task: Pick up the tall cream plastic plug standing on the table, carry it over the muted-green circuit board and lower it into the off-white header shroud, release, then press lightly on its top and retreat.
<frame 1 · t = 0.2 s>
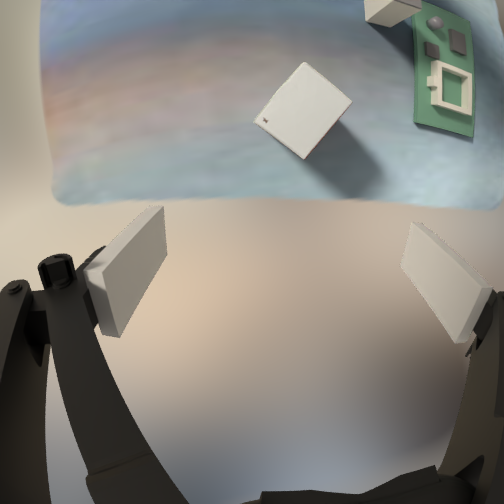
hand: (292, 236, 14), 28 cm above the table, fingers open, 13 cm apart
board: (444, 66, 30), on the table
small box: (290, 112, 36), on the table
plug: (377, 13, 28), on the table
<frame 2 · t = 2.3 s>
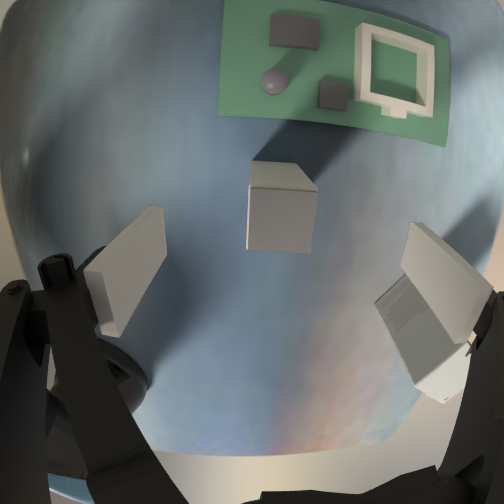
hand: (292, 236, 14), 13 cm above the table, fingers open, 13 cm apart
board: (346, 64, 21), on the table
small box: (407, 301, 32), on the table
plug: (272, 183, 26), on the table
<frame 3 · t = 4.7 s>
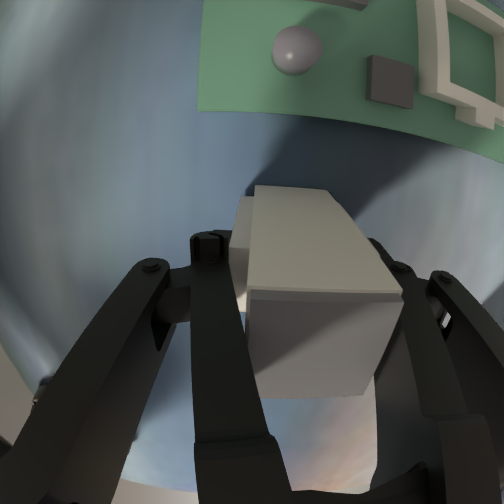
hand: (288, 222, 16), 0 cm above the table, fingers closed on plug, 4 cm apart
board: (402, 37, 11), on the table
plug: (288, 221, 17), on the table, touching gripper
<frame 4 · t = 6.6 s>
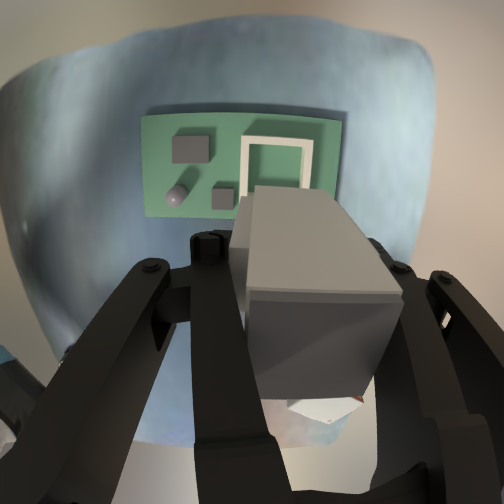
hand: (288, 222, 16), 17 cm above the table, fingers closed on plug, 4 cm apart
board: (238, 165, 32), on the table
small box: (313, 337, 43), on the table
plug: (288, 221, 17), point 17 cm above the table, touching gripper
when the fingers open (4 cm above the table, at t = 8.9 s): plug drops 3 cm, resting on board.
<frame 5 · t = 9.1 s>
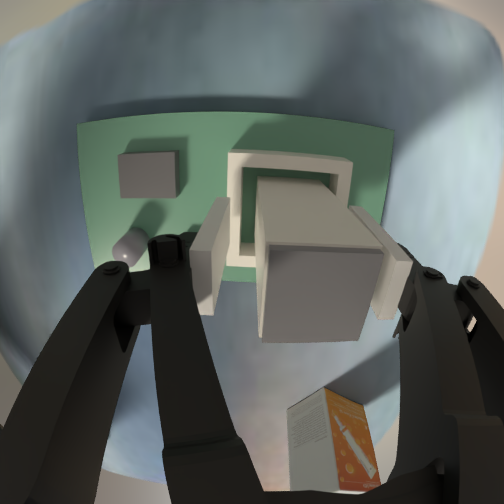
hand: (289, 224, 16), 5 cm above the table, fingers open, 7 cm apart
board: (226, 197, 20), on the table
small box: (325, 406, 31), on the table
plug: (286, 207, 19), point 1 cm above the table, touching board
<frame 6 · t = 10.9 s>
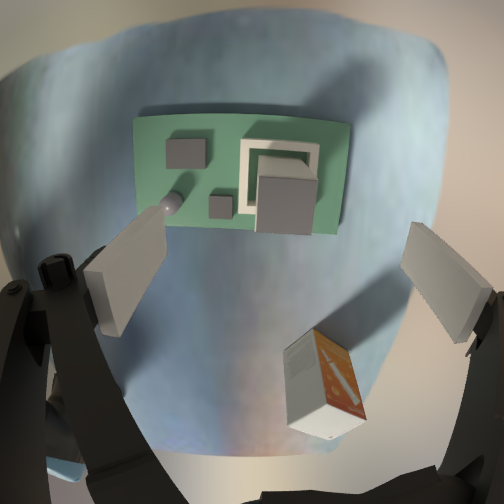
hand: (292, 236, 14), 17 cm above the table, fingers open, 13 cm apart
board: (237, 170, 29), on the table
small box: (315, 350, 41), on the table
plug: (277, 175, 28), point 1 cm above the table, touching board
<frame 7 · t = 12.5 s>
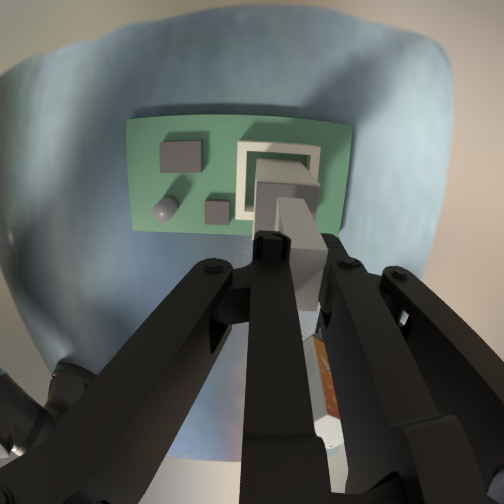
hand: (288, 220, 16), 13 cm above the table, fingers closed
board: (234, 174, 28), on the table
small box: (315, 357, 39), on the table
plug: (276, 179, 27), point 1 cm above the table, touching board
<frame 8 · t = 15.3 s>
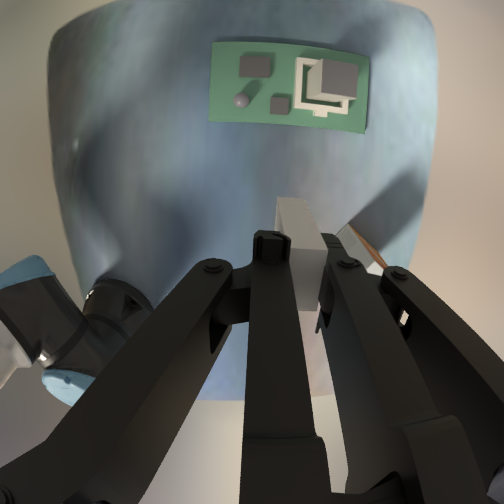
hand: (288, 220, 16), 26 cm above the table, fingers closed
board: (290, 84, 35), on the table
small box: (350, 249, 46), on the table
plug: (320, 87, 34), point 1 cm above the table, touching board
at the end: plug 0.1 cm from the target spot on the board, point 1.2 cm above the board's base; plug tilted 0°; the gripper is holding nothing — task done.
